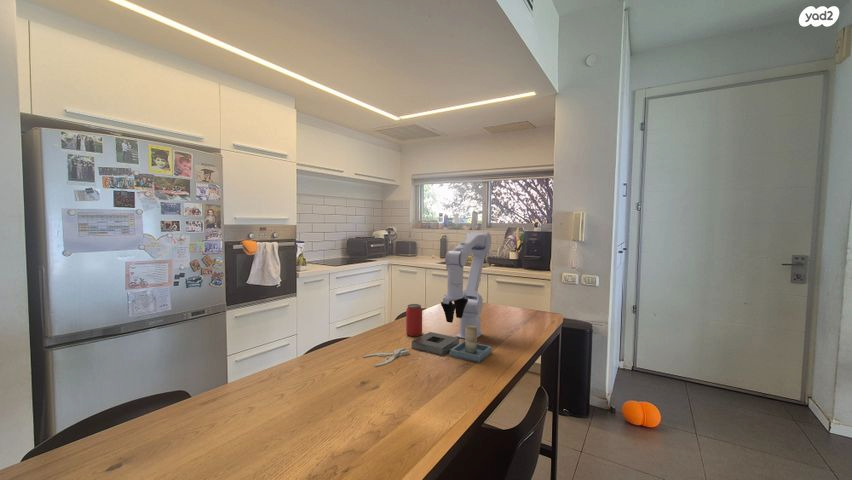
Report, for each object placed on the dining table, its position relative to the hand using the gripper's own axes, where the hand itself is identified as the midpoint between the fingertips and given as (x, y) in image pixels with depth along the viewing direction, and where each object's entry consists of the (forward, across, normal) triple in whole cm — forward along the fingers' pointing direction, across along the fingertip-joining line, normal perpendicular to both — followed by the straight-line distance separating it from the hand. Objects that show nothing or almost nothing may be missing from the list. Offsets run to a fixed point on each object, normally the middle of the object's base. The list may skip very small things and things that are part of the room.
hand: (454, 319), depth 127 cm
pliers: (+12, +20, -15) cm, 27 cm away
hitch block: (+10, +2, -7) cm, 13 cm away
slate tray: (+10, +2, +8) cm, 13 cm away
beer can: (+10, -5, -21) cm, 24 cm away
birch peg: (+10, +2, +8) cm, 13 cm away
